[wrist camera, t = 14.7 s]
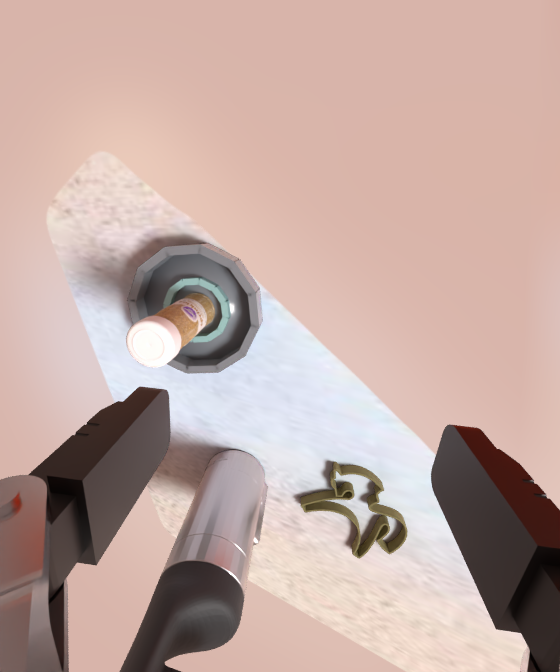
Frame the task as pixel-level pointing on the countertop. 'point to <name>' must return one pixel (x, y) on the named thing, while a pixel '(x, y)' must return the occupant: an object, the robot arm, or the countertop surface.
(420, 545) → the countertop surface
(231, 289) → the grey ring dish
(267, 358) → the countertop surface
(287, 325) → the countertop surface
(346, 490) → the cookie cutter
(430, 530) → the countertop surface
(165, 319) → the sprinkles bottle
